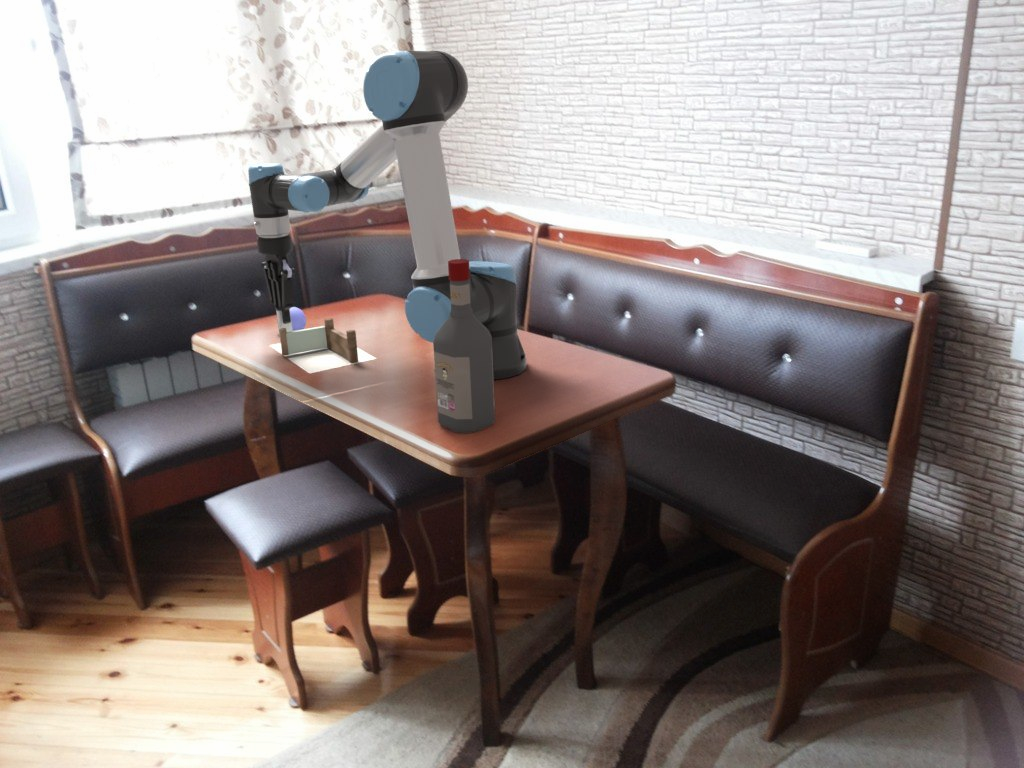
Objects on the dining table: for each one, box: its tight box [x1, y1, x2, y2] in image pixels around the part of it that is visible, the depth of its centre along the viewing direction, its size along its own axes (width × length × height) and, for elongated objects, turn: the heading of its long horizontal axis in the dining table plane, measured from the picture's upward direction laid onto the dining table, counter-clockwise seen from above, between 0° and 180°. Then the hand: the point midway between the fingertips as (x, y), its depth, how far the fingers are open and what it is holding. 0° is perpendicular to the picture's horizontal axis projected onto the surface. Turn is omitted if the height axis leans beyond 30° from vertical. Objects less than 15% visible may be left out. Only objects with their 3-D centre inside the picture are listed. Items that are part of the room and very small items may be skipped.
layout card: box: [268, 342, 378, 374], centre depth 201 cm, size 26×16×1 cm, turn 34°
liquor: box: [432, 258, 496, 434], centre depth 154 cm, size 9×9×30 cm
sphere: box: [276, 306, 307, 331], centre depth 216 cm, size 7×7×7 cm
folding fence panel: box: [278, 325, 327, 356], centre depth 200 cm, size 10×2×6 cm, turn 119°
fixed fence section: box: [323, 317, 358, 364], centre depth 197 cm, size 14×2×7 cm, turn 34°
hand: (286, 335), depth 203 cm, fingers closed
